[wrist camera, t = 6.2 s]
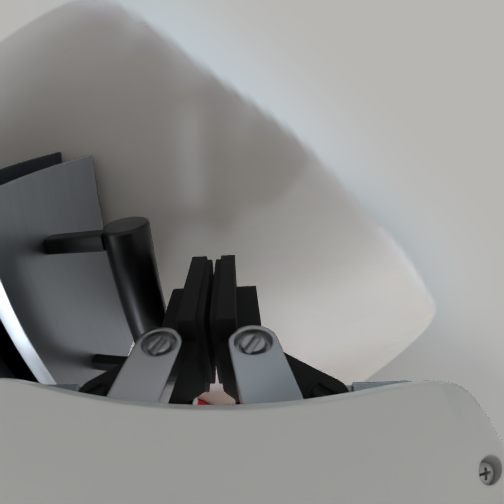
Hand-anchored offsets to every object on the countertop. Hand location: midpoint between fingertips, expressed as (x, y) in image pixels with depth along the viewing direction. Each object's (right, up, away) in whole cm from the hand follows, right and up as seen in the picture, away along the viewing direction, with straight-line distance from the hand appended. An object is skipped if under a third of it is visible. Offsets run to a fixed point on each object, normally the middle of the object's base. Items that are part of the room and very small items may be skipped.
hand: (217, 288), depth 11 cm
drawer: (-11, +1, +2) cm, 11 cm away
